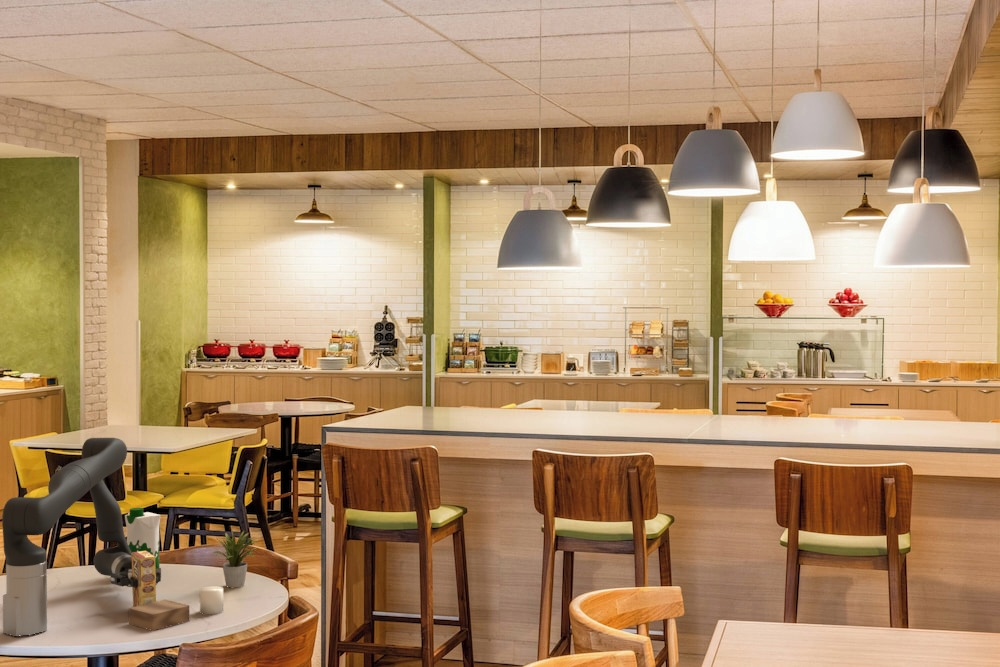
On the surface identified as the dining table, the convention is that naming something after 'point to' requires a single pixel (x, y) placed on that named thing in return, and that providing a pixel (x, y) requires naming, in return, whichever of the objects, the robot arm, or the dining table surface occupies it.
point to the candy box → (144, 578)
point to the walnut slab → (158, 614)
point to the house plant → (235, 559)
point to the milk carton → (143, 532)
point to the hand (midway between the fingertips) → (145, 582)
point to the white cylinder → (211, 600)
